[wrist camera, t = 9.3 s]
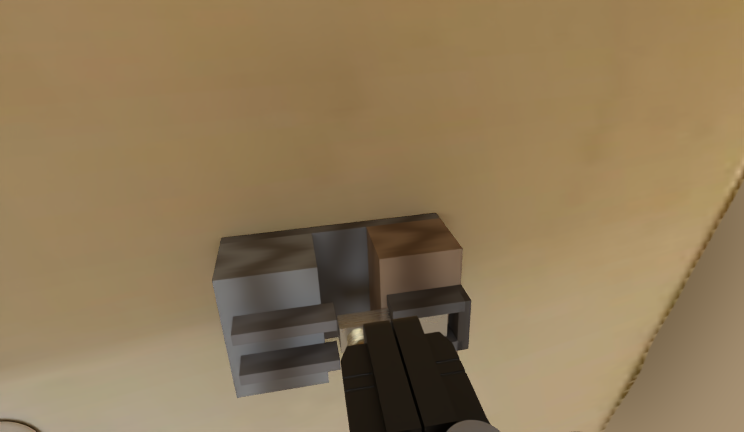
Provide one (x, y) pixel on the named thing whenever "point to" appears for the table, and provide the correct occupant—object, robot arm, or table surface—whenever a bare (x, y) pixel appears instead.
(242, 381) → the door and jamb
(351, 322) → the bolt
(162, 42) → the table surface
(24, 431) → the water bottle
